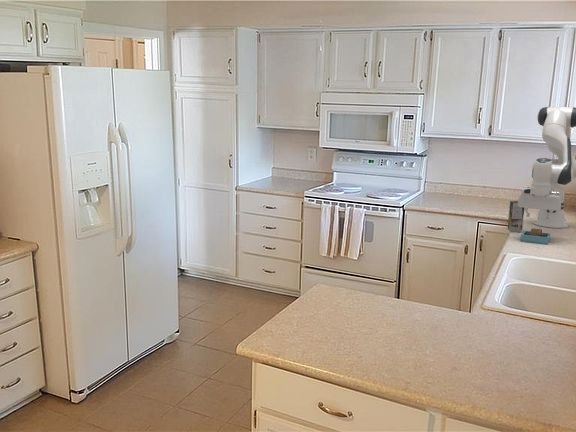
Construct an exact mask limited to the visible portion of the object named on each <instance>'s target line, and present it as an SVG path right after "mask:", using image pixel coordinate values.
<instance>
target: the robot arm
mask: <svg viewBox="0 0 576 432" xmlns="http://www.w3.org/2000/svg"><path fill="white" fill-rule="evenodd" d="M536 117H537V118H536V119H537V123H538V124H539V125H540V126H543V127H542V132H541V137H542V140H543V142H545V143H546V144H547V148H548V151H549V152H551V153H552V154H554V155H556V156H557V157H558V158H546V157H541V158H536V160H535V161H534V162H533V164H532V170H531V171H532V173H531V178H532V181H531V186H527V187H523V188H522V189H521V193H520V194H519V196H518V200H517V201H518V207H523V208H524V213H525V214H526V217H529V218H530V216H531V215H530V214H531V213H530V212H529V211H528V209H536V210H537V215H536V220H535V221H534V222H533V223H532V224H533V225H537V226H540V227H545V228H555V229H560V228H562V229H563V228H564V229H567V228H569V224H567V223H566V221H567V219H566V217H567V212H566V211H564V209H565V203H564V200H565V195H566V194H565V193H566V191H565V188H564V187H563V186H565V185H568V184H570V183H571V182H572V181H573V180H575V179H576V158H575V156H573V154H572V143H571V134H572V129H573V128H575V127H576V106H575V107H574V106H573V107H570V106H551V107H550V106H549V107H548V106H544V107H542V108H540V109H539V110H538V113H537V116H536ZM562 185H563V186H562Z"/></svg>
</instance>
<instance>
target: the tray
mask: <svg viewBox="0 0 576 432" xmlns="http://www.w3.org/2000/svg"><path fill="white" fill-rule="evenodd" d="M530 232H531V230H524V231H522V232H521V235H520V242H522V243H531V244H540V245H549V243H550V240H551V233H548V232H542V237H540V236H531V235H530Z"/></svg>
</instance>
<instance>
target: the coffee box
mask: <svg viewBox="0 0 576 432" xmlns="http://www.w3.org/2000/svg"><path fill="white" fill-rule="evenodd" d="M508 208H509V209H508V217H507V218H508V220H507V230H508V231H509V232H513V233H523V224H524V216H525V208H523V207H518V200H517V201H516V200H510V201H509V207H508Z"/></svg>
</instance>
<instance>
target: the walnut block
mask: <svg viewBox="0 0 576 432" xmlns="http://www.w3.org/2000/svg"><path fill="white" fill-rule="evenodd" d="M530 231H531V232H530V235H531V236H540V237H542V233H543V229H541V228H533V227H532V228H531V229H530Z"/></svg>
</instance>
